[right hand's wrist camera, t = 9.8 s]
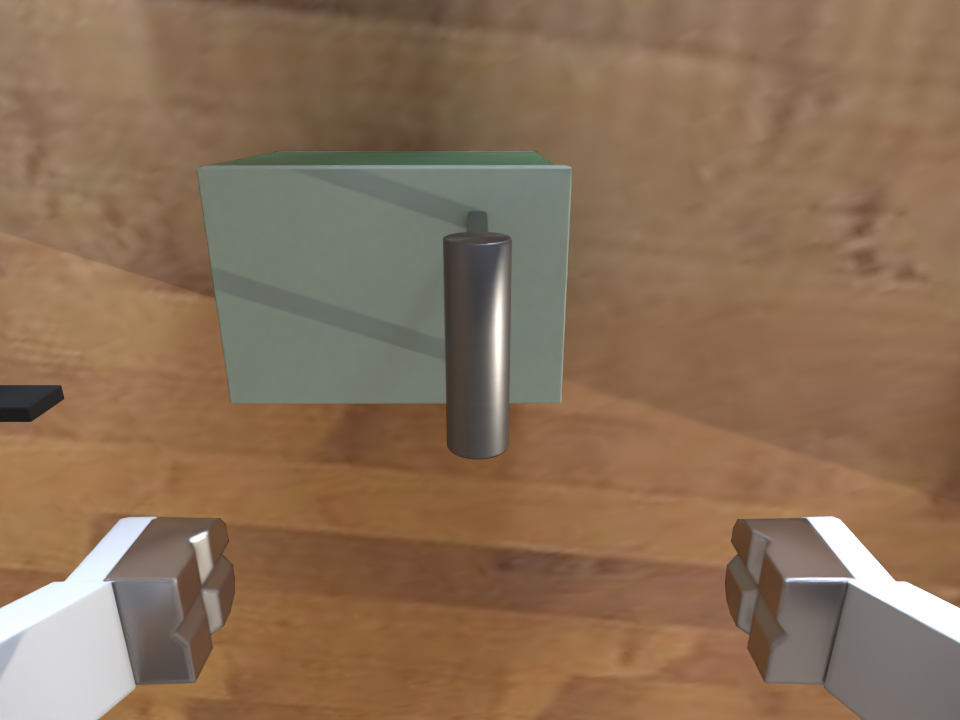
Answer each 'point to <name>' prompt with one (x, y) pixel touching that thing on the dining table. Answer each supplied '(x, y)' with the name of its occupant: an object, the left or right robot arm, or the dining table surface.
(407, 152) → the chest
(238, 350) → the lid
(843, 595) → the right robot arm
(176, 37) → the dining table surface
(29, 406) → the left robot arm
